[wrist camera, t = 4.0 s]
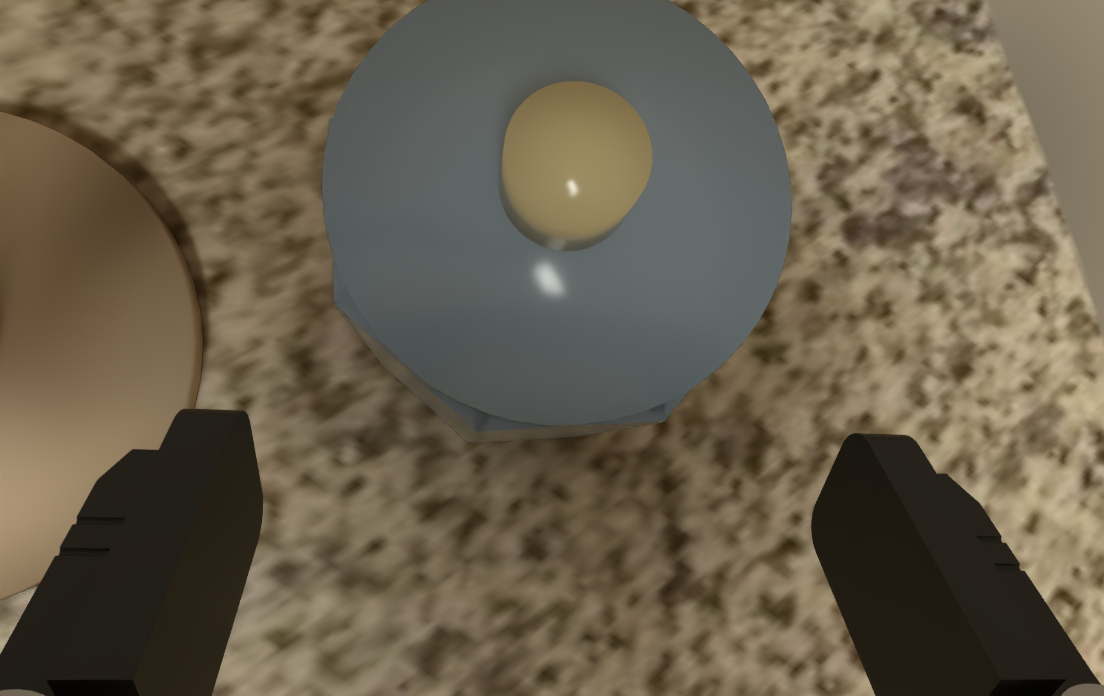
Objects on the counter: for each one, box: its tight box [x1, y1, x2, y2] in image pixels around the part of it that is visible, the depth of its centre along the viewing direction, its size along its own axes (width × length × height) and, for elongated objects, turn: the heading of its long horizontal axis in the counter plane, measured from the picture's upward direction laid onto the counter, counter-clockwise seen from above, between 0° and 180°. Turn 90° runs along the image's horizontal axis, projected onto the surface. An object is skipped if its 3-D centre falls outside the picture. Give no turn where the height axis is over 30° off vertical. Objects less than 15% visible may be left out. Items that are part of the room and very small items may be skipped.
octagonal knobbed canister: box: [322, 0, 792, 444], centre depth 15 cm, size 6×6×11 cm
